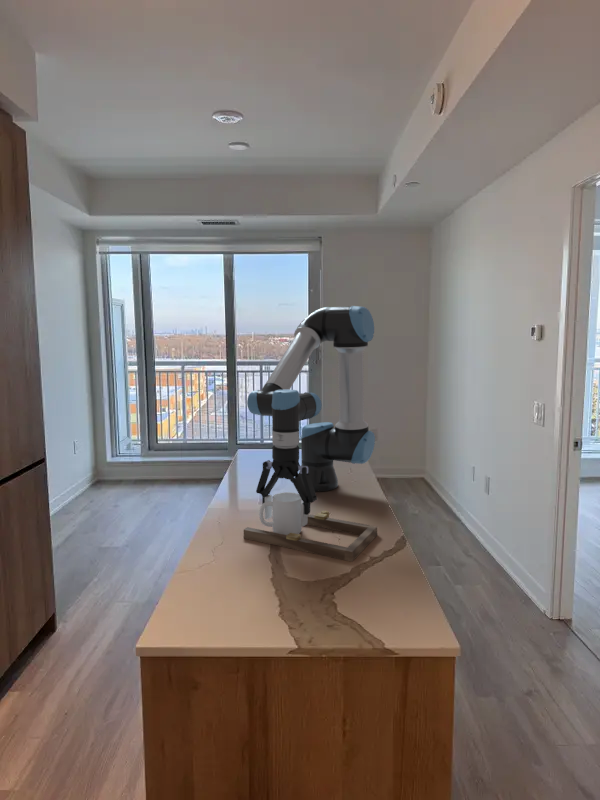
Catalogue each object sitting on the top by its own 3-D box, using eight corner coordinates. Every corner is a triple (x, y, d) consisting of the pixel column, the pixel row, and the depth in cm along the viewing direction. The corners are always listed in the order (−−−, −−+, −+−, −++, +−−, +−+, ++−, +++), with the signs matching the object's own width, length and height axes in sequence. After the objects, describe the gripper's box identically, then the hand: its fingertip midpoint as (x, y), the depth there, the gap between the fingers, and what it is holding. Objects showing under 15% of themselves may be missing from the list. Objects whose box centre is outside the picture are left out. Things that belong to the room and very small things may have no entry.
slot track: (282, 513, 164) (282, 503, 163) (380, 531, 149) (381, 519, 149) (243, 538, 144) (243, 527, 144) (351, 561, 129) (351, 549, 129)
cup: (303, 536, 146) (303, 500, 144) (260, 538, 144) (259, 502, 143) (300, 525, 154) (299, 491, 152) (259, 527, 152) (258, 493, 151)
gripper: (243, 443, 148) (244, 518, 150) (317, 452, 137) (317, 533, 140) (257, 438, 154) (258, 510, 157) (329, 447, 143) (328, 524, 146)
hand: (285, 521), depth 148 cm, fingers open, 11 cm apart
